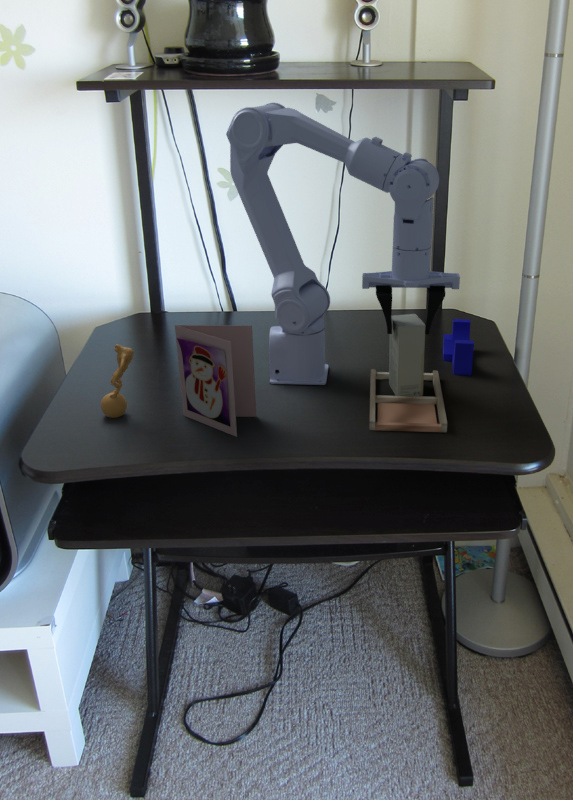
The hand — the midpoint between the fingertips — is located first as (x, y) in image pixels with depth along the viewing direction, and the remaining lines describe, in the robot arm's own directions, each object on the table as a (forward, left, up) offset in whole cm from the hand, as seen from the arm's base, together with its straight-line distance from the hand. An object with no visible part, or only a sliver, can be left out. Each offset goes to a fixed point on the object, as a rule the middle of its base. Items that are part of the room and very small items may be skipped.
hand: (407, 332), depth 115 cm
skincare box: (0, +1, -11) cm, 11 cm away
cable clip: (+9, +13, -11) cm, 20 cm away
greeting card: (-28, -11, -11) cm, 32 cm away
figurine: (-44, -11, -11) cm, 47 cm away
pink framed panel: (0, -4, -10) cm, 11 cm away
